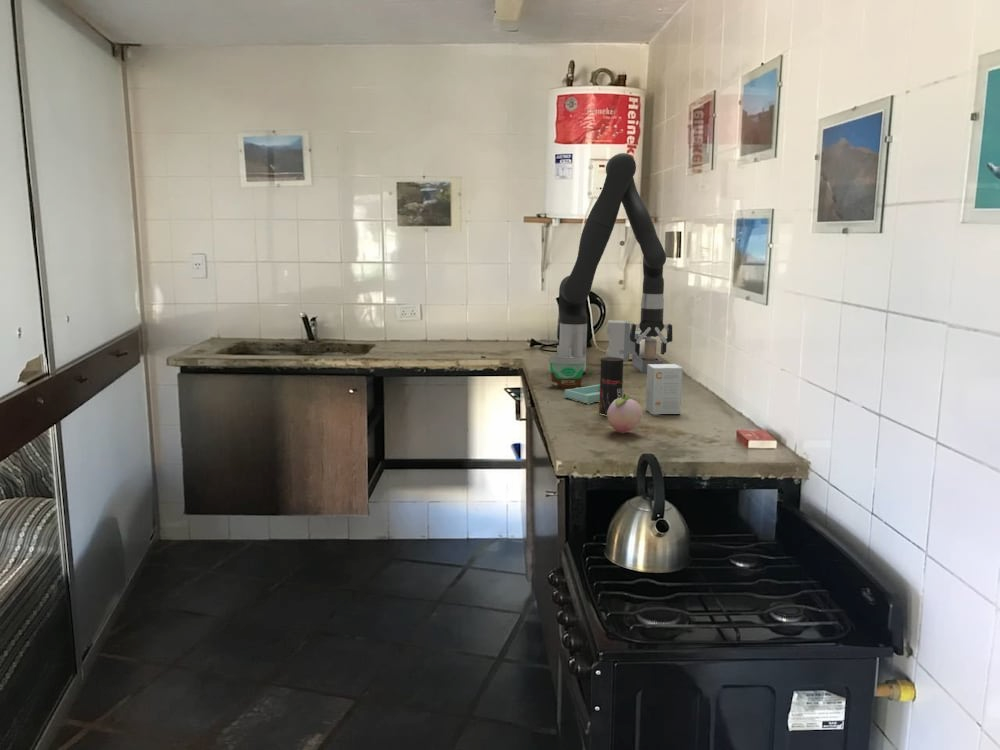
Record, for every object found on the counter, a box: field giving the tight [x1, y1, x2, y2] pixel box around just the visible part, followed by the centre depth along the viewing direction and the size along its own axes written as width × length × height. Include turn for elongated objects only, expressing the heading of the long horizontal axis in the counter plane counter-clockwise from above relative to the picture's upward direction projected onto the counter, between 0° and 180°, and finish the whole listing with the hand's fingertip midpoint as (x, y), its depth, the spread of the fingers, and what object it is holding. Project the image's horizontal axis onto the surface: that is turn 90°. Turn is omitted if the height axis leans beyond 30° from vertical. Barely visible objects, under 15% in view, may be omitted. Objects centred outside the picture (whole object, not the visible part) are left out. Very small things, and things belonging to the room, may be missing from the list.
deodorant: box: [598, 356, 624, 415], centre depth 214 cm, size 6×6×15 cm
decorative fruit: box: [606, 393, 643, 434], centre depth 194 cm, size 9×8×10 cm
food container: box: [547, 354, 587, 389], centre depth 249 cm, size 12×6×10 cm, turn 105°
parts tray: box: [564, 384, 624, 403], centre depth 234 cm, size 14×10×2 cm
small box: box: [645, 363, 684, 415], centre depth 216 cm, size 8×6×13 cm
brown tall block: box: [644, 338, 658, 360], centre depth 274 cm, size 4×4×11 cm
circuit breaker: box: [605, 319, 641, 362], centre depth 296 cm, size 8×14×15 cm, turn 78°
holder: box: [631, 336, 664, 374], centre depth 278 cm, size 16×7×12 cm, turn 3°
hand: (650, 354), depth 274 cm, fingers open, 8 cm apart
